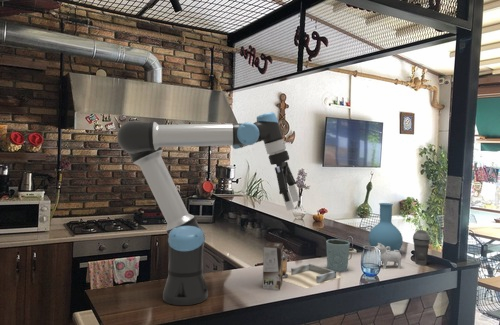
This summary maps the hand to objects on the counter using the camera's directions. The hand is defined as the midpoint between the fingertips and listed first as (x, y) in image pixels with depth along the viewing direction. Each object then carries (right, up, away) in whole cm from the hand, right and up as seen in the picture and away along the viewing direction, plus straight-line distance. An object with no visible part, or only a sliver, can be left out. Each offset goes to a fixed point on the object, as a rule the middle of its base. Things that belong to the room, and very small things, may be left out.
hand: (293, 205), depth 150 cm
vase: (+53, -30, +50) cm, 79 cm away
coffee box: (-8, -30, -6) cm, 32 cm away
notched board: (+6, -30, +5) cm, 31 cm away
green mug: (+21, -30, +20) cm, 42 cm away
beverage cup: (+62, -30, +29) cm, 75 cm away
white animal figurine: (+44, -30, +23) cm, 59 cm away
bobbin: (-4, -29, +5) cm, 29 cm away
